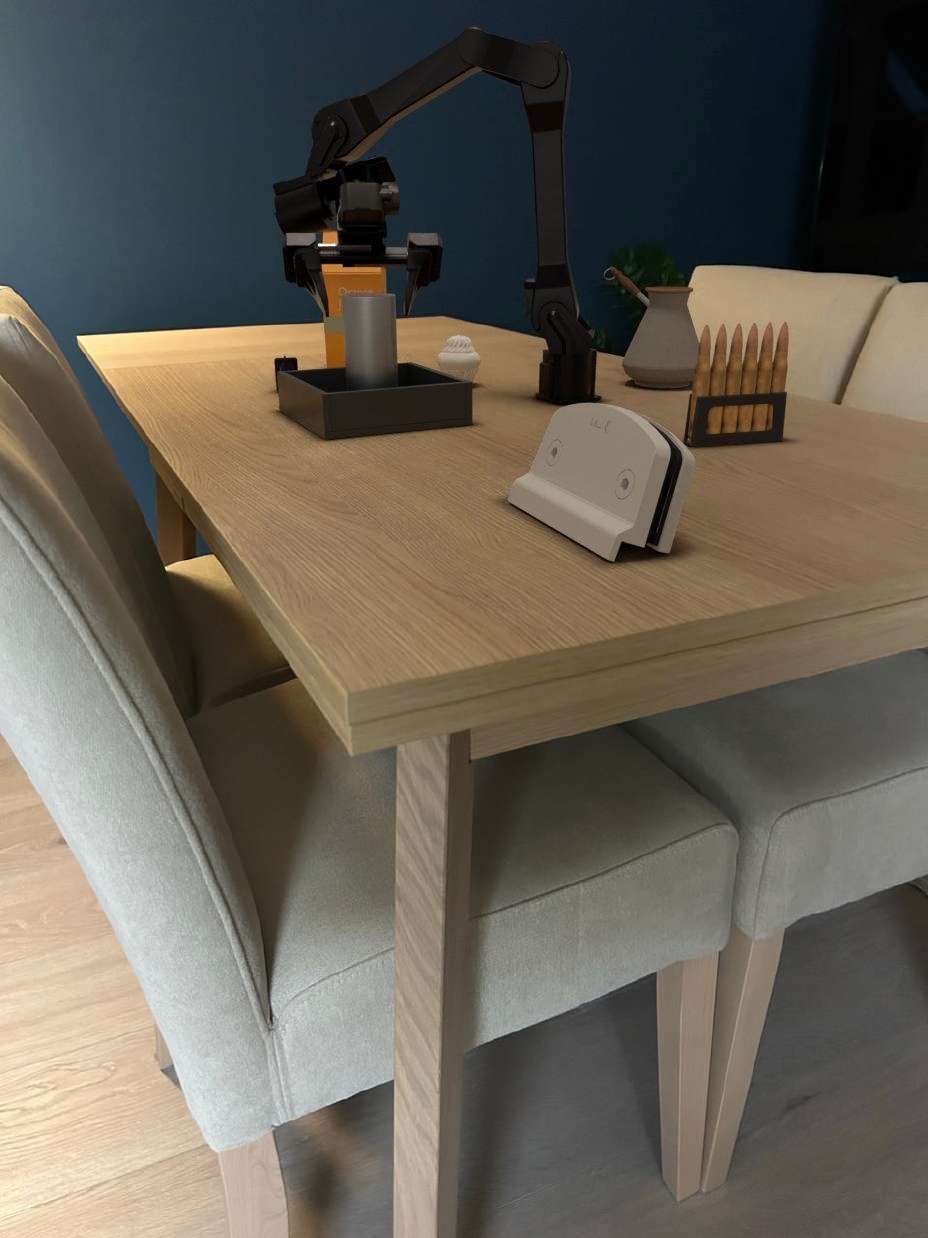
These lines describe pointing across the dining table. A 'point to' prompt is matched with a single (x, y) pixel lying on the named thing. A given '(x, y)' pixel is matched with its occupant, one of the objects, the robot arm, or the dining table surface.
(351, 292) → the orange juice
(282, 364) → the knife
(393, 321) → the metal can
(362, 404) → the bin
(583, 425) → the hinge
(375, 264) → the robot arm
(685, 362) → the coffee pot
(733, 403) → the ammunition clip
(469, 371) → the muffin
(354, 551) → the dining table surface
